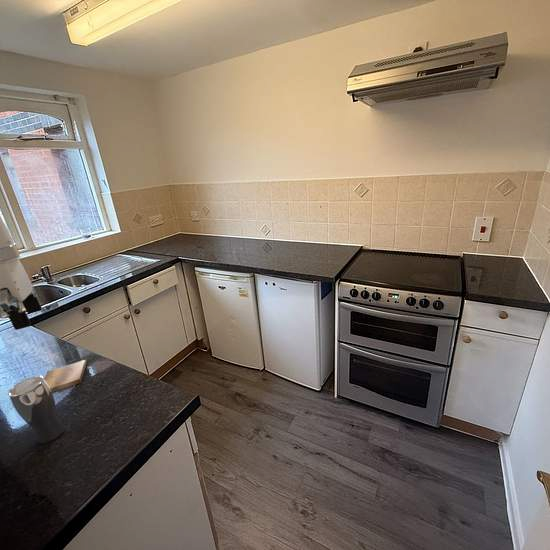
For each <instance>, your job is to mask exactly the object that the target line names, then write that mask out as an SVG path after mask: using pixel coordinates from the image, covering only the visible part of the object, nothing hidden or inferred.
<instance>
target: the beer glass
mask: <svg viewBox="0 0 550 550" xmlns="http://www.w3.org/2000/svg"><path fill="white" fill-rule="evenodd" d="M7 395H8V397H9V398H10V401H11V403H12V406H13V408H14V410H15V411H16V413H17V414H18V416H19V417H20V418H21V419H22V420H23V421H24V422H25V423H26V424H27V425H28V426H29V427H30V428H31V429H32V431H33V433H34V434H35V440H36V442H37V443H38V444H39V445H40V444H41V445H42V444H43V445H44V444H48V443H51V442H53V441H55V440H56V439H58V438H59V437H61V435H62V434H63V433H64V432H65V431H66V428H67V424H66V423H65V421H63V419H62V418H61V417H60V415H59V412H58V409H57V404H56V402H55V397H54V394H53V392H51V390H50V388H49V386H48V385H47V383H46V382H45V380H44V377H43V376H42V375H33V376H30V377H27V378H24V379H23V380H21V381H18V382H17V383H16V384H14V385H13V386H12V387H10V389H9V390H8V392H7Z"/></svg>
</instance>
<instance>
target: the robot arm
mask: <svg viewBox="0 0 550 550" xmlns="http://www.w3.org/2000/svg"><path fill="white" fill-rule="evenodd" d="M17 247H18V246H17V245H16V242H15V240H14V239H13V237H12V234H11V232H10V230H9V228H8V226H7V223H6V222H5V219H4V217H3V215H2V213H1V212H0V308H2V311H3V312H4V313H5V315H6V316H7V317H8V319H9V321H10V322H11V325H12V326H13V329H14V330H15V331H18V330H22V329H25V328H26V329H27V328H28V327H31V326H32V323H31V320H30V318H29V316H28V314H29V315H30V314H33V313H38V312H41V311H42V310H43V307H42V305H41V304H40V301H39V299H38V297H37V295H36V292H35V291H34V286H33V284H32V281H31V279H30V277H29V275H28V273H27V271H26V269H25V268H24V266H23V264H22V262H21V261H20V258H22V256H21V253H20V252H19V249H18V248H17ZM15 305H16V306H15ZM23 307H24V310H23Z"/></svg>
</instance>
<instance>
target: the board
mask: <svg viewBox="0 0 550 550" xmlns="http://www.w3.org/2000/svg"><path fill="white" fill-rule="evenodd" d="M86 367H87V360H86V359H83V360H79V361H76V362H73V363H70V364H66V365H63V366H60V367H57V368H54V369H51V370H47V372H46V373H45V376H44V377H43V379H44V380H45V382H46V383H47V385H48V386H49V388H50V390H51V392H52V393H55V392H57V391H60V390H64V389H66V388H69V387H73V386H76V385H79V384H81V383H82V381H83V378H84V374H85V371H86Z"/></svg>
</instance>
